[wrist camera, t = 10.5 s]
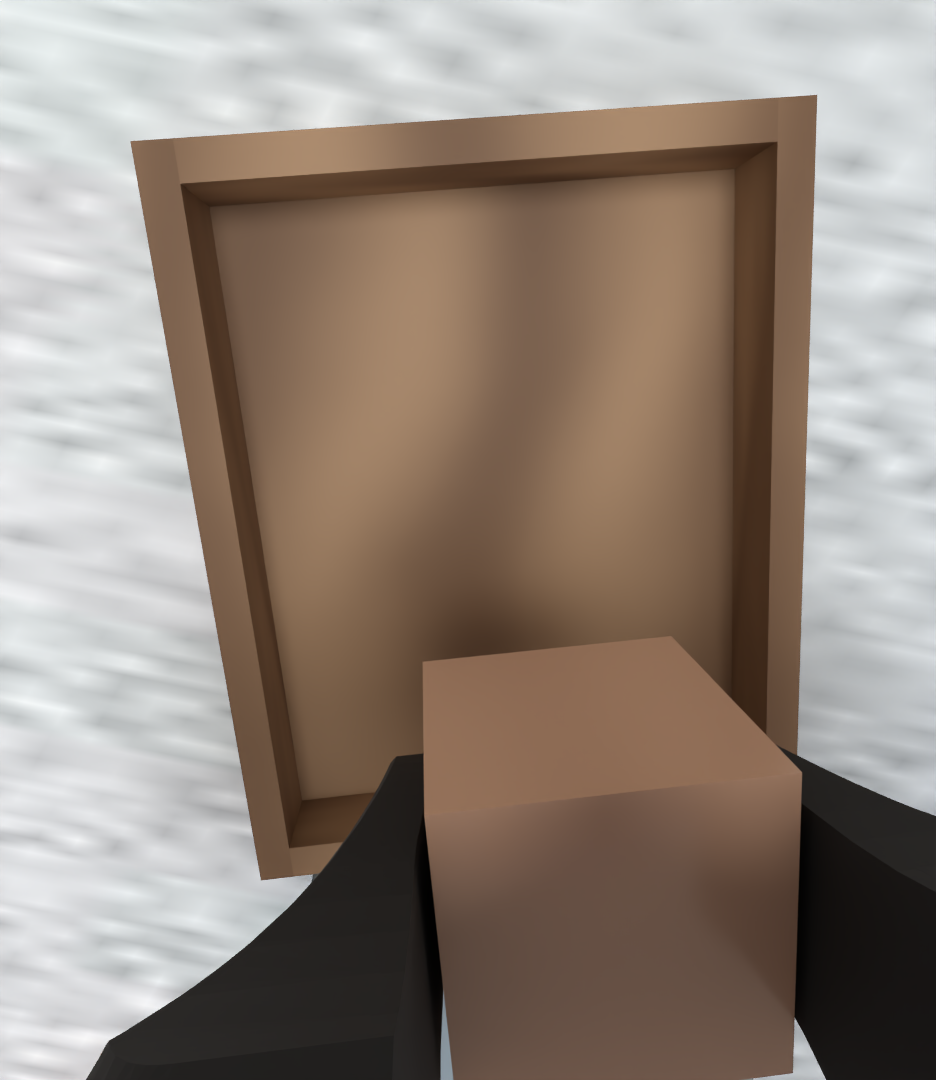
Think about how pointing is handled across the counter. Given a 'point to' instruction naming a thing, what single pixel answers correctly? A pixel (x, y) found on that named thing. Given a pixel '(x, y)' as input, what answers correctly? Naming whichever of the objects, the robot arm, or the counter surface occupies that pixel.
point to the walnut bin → (484, 414)
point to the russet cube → (609, 867)
